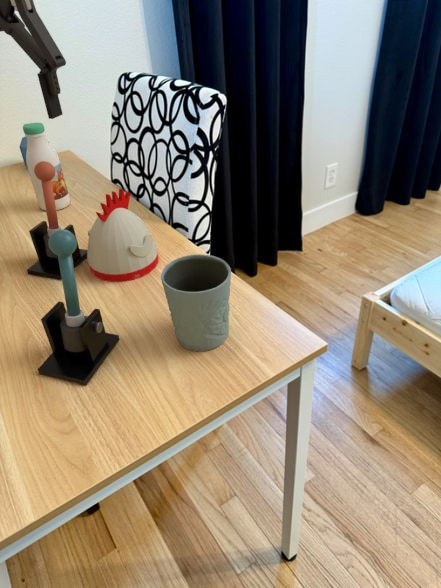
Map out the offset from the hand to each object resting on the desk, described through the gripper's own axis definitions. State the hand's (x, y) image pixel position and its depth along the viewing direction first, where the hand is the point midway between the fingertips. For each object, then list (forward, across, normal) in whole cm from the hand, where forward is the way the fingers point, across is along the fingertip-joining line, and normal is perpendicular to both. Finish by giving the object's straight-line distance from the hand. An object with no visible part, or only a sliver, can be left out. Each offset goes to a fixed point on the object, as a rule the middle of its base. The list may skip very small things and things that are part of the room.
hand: (21, 114), depth 72 cm
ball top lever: (+18, -19, +19) cm, 33 cm away
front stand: (+29, -19, +22) cm, 41 cm away
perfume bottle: (+28, +41, -47) cm, 68 cm away
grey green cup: (+29, -35, +13) cm, 47 cm away
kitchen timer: (+29, -13, -3) cm, 32 cm away
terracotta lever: (+18, 0, -3) cm, 18 cm away
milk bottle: (+29, +18, -23) cm, 41 cm away
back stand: (+29, 0, 0) cm, 29 cm away
